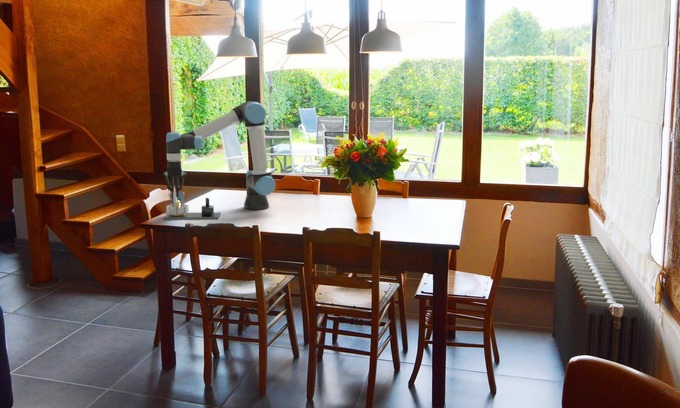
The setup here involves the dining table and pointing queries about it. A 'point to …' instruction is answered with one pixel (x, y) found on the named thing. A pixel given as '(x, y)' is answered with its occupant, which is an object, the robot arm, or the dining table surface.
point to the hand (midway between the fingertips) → (175, 202)
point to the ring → (177, 209)
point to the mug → (177, 197)
